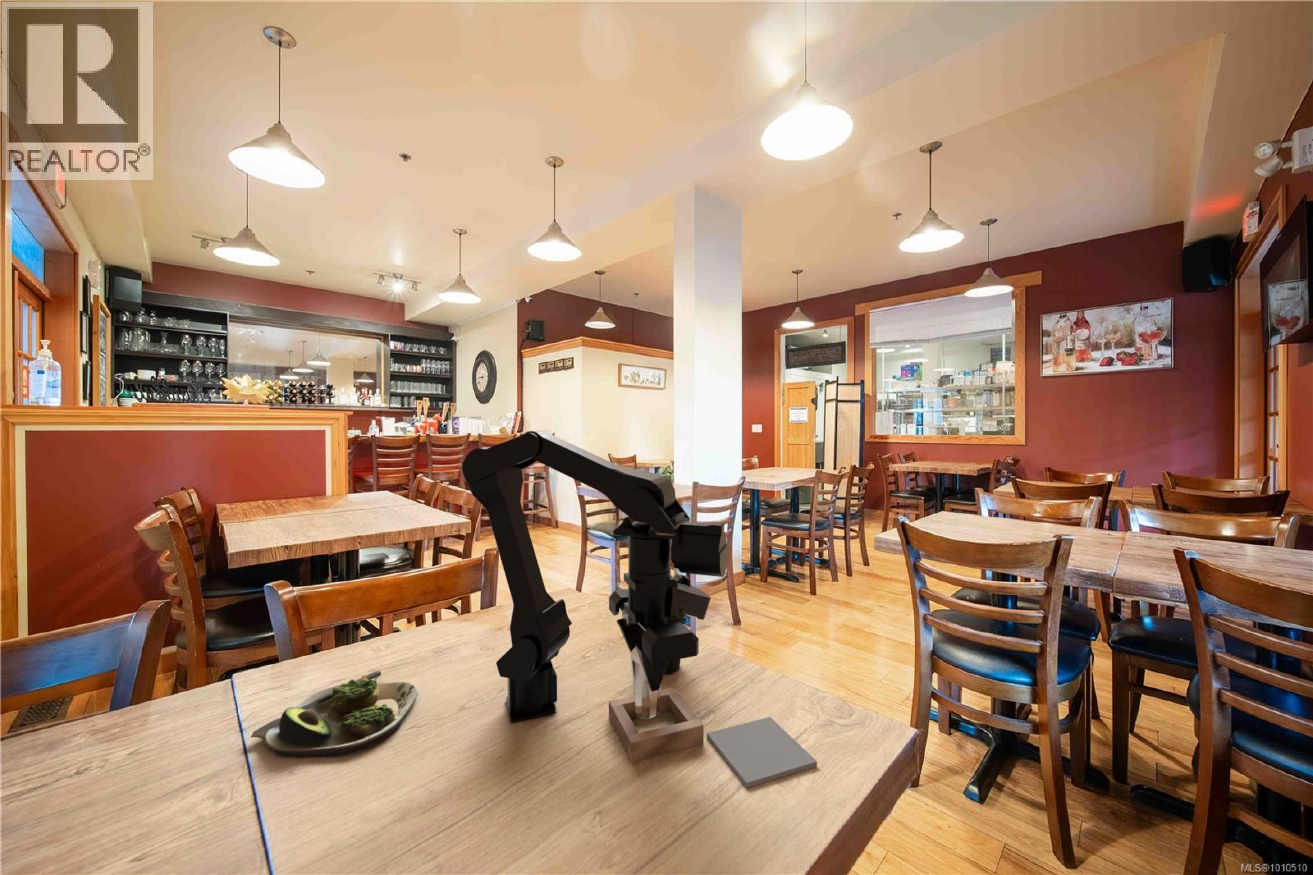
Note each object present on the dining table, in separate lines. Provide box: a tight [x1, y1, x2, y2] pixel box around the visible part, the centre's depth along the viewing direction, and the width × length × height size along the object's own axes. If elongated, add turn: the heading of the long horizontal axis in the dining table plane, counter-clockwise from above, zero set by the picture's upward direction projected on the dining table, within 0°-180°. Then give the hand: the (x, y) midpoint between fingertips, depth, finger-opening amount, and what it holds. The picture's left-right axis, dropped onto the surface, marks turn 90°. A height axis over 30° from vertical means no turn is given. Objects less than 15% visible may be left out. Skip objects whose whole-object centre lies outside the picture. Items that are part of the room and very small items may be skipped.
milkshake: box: [629, 647, 662, 720], centre depth 69 cm, size 4×5×10 cm
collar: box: [608, 687, 705, 763], centre depth 69 cm, size 10×10×2 cm
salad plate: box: [249, 670, 419, 759], centre depth 73 cm, size 19×18×5 cm
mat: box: [706, 716, 818, 789], centre depth 65 cm, size 10×10×1 cm
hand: (648, 682), depth 68 cm, fingers closed on milkshake, 4 cm apart
